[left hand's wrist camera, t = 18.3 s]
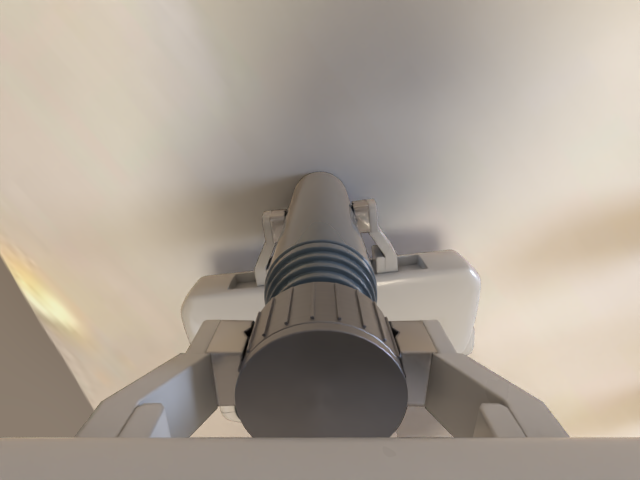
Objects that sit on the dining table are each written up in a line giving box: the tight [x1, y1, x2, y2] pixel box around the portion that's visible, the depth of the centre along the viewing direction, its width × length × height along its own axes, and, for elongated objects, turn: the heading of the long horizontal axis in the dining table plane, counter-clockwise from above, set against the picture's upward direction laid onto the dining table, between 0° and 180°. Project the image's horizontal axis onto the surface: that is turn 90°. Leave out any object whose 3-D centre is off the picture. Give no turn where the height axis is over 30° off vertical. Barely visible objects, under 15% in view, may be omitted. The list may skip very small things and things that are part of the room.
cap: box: [235, 282, 408, 438], centre depth 9 cm, size 4×4×2 cm
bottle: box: [264, 172, 377, 305], centre depth 18 cm, size 4×4×20 cm
